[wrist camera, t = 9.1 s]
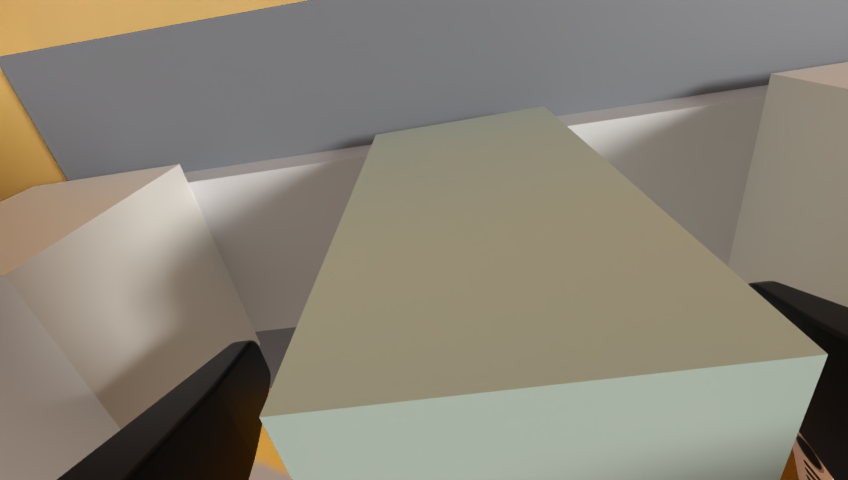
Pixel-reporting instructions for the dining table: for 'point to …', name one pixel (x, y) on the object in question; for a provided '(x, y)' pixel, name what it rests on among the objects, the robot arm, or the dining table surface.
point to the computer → (808, 462)
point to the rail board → (344, 158)
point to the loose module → (529, 326)
